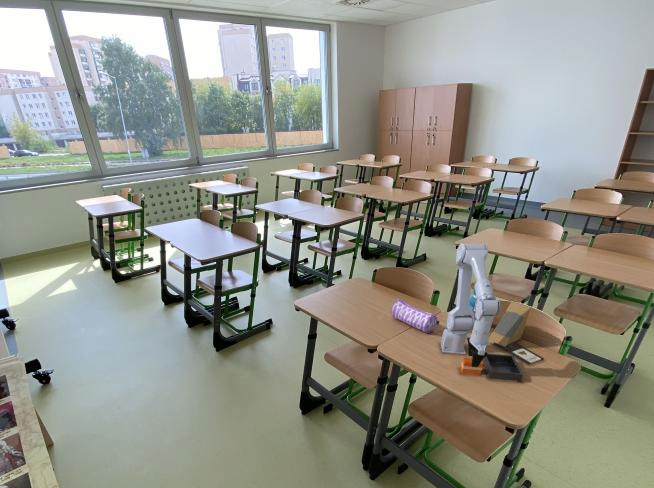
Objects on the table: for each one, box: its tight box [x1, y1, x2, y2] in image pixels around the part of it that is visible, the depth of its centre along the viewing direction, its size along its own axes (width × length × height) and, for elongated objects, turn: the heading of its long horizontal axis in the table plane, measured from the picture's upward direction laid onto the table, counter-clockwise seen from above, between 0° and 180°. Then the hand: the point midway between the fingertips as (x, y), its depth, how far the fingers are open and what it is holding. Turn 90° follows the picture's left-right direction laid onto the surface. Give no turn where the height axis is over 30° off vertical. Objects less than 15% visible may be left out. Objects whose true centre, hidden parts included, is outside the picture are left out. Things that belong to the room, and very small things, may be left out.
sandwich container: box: [487, 301, 531, 346], centre depth 172 cm, size 9×15×15 cm, turn 130°
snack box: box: [460, 357, 484, 375], centre depth 152 cm, size 7×3×5 cm, turn 82°
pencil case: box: [391, 297, 440, 334], centre depth 184 cm, size 22×9×10 cm, turn 42°
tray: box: [482, 352, 524, 382], centre depth 154 cm, size 12×14×4 cm
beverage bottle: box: [465, 288, 477, 333], centre depth 179 cm, size 8×8×20 cm
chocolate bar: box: [492, 342, 544, 365], centre depth 167 cm, size 9×1×18 cm
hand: (472, 361), depth 151 cm, fingers open, 7 cm apart
